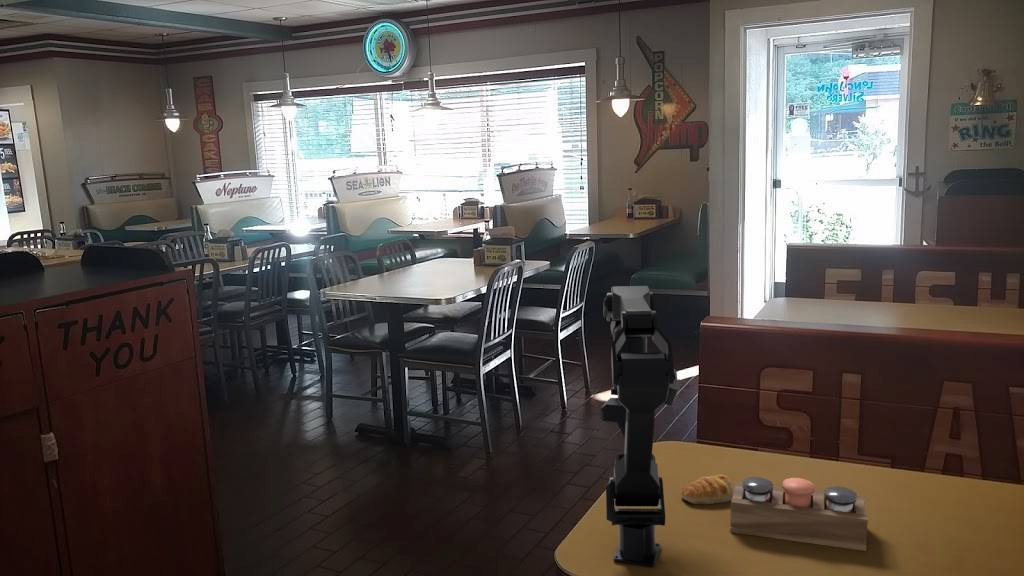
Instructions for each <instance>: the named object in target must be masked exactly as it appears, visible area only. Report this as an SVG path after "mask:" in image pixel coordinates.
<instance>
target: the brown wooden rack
mask: <svg viewBox="0 0 1024 576" xmlns="http://www.w3.org/2000/svg"><path fill="white" fill-rule="evenodd" d="M742 486H743V482H739V481H735V482H734V487H733V488H734V494H733V498H732V500H730V526H729V527H730V528H729V532H730V533H734V534H735V533H736V534H741V535H743V534H744V535H749V536H755V537H764V538H770V539H771V538H772V539H776V540H777V539H778V540H783V541H784V540H785V541H786V540H787V541H791V542H793V541H794V542H799V543H807V544H814V545H815V544H816V545H821V546H828V547H834V548H841V549H843V548H844V549H849V550H850V549H851V550H856V551H857V550H858V551H862V552H863V551H865V552H867V541H868V540H867V535H868V514H867V509H866V497H865V496H858V495H857V501H856V502H855V503H854V504H853V513H848V512H840V511H832V510H826V507H827V500H826V499H825V498H824V491H816V490H814V493H813V494H811V504H810V508H808V507H800V506H792V505H785V494H786V491H785V490H784V489H783V486H782V487H781V486H774V485H773V491H772V492H771V493H770V503H769V502H761V501H753V500H745V490H744V489H743V487H742Z"/></svg>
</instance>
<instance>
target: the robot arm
mask: <svg viewBox="0 0 1024 576" xmlns="http://www.w3.org/2000/svg"><path fill="white" fill-rule="evenodd" d="M610 291H611V292H607V294H606V295H605V298H604V299H603V309H602V310H603V312H602V313H603V318H606V321H607V322H611V323H610V331H611V337H612V343H611V356H610V357H611V366H610V373H611V378H612V380H611V381H612V387H611V388H610V395H611V396H617V397H609V399H608V400H607V401H605V402H604V404H603V405H602V406H601V407H600V420H601V421H603V422H609V423H610V422H612V423H616V424H617V426H618V428H619V429H620V432H621V433H622V436H623V438H624V453H618V454H617V455H616V456H615V461H614V465H613V466H614V467H613V476H610V477H609V481H608V483H607V484H606V485H605V498H606V499H605V503H606V504H605V507H606V509H605V510H606V520H607V521H608V522H611V526H618V532H619V537H618V538H619V539H618V542H619V543H618V546H617V548H616V550H615V552H614V555H613V556H612V557H613V559H612V560H613V561H615V562H621V563H624V564H625V563H626V564H633V565H638V566H645V567H651V568H652V567H654V566H655V565H656V561H657V558H658V557H659V556H658V555H659V553H660V550H661V544H660V543H656V526H661V527H662V526H663V527H664V526H666V510H665V507H666V505H665V495H664V482H663V477H662V476H659V469H658V468H659V467H658V464H657V462H656V457H655V455H654V454H653V449H654V448H653V446H654V445H653V444H654V430H655V421H656V420H655V417H656V410H658V409H659V408H660V407H662V405H666V406H673V404H674V403H675V400H676V398H677V395H678V393H679V391H680V388H681V386H682V382H681V379H680V378H678V371H677V369H675V368H674V358H673V350H672V349H673V348H672V343H671V340H669V338H668V337H667V336H666V335H665V334H664V332H663V331H662V330H661V329H660V327H659V326H658V321H657V312H656V310H654V293H653V291H651V290H650V289H649V286H648V285H628V286H627V285H625V286H624V285H623V286H622V285H621V286H619V285H617V286H611V288H610ZM648 337H651V340H652V342H653V343H654V345H656V347H657V348H658V350H659V351H660V352H648ZM618 507H619V508H618ZM620 507H623V508H620ZM626 507H628V508H626ZM629 507H630V508H629ZM631 507H633V508H631ZM634 507H635V508H634ZM636 507H640V508H636ZM641 507H643V508H641ZM644 507H646V508H644ZM647 507H650V508H647ZM651 507H652V508H651ZM653 507H658V508H653Z"/></svg>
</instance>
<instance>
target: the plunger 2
mask: <svg viewBox="0 0 1024 576" xmlns="http://www.w3.org/2000/svg"><path fill="white" fill-rule="evenodd" d="M823 492H824V498H825V499H826V500H827V507H826V510H832V511H840V512H848V513H853V504H854V503H855V502H856V501H857V496H858V495H857V493H856V492H855V491H854V490H853V489H850V488H848V487H844V486H838V485H837V486H836V485H835V486H828V487H826V488H824V490H823Z"/></svg>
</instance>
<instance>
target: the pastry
mask: <svg viewBox="0 0 1024 576" xmlns="http://www.w3.org/2000/svg"><path fill="white" fill-rule="evenodd" d="M733 494H734V487H733V485H732V482H731V479H730V478H729V477H728V476H726V475H725V474H721V473H717V474H716V475H709V476H708V475H707V476H701V477H699V478H698V479H697V480H694V481H693V482H690V483H689V484H687V485H686V486H685V487H683V488H682V491H681V498H682V499H683V500H685V501H687V502H689V503H691V504H694V505H698V504H700V505H701V504H703V505H706V504H707V505H713V504H719V503H726V502H729V501H730V502H731V501H732V498H733Z"/></svg>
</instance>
